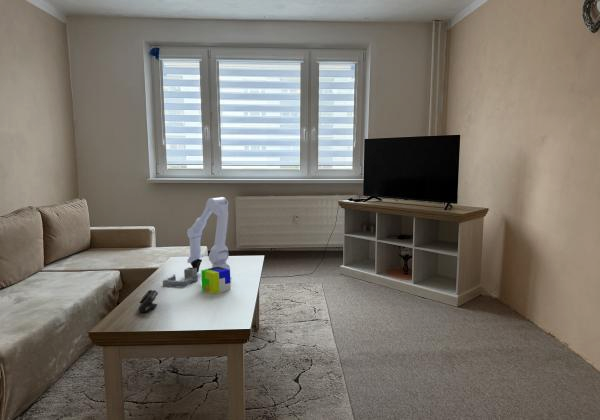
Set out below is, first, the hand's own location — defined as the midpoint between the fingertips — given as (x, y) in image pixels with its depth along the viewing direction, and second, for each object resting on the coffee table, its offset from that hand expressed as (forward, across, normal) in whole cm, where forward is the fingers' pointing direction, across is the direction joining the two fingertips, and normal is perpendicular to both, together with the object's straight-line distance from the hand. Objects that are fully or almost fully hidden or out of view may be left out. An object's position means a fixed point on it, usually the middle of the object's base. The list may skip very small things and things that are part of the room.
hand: (196, 272), depth 236 cm
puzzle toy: (+1, +24, +24) cm, 34 cm away
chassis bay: (+1, +18, 0) cm, 18 cm away
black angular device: (+1, +56, +8) cm, 57 cm away
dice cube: (+1, +7, +1) cm, 7 cm away
